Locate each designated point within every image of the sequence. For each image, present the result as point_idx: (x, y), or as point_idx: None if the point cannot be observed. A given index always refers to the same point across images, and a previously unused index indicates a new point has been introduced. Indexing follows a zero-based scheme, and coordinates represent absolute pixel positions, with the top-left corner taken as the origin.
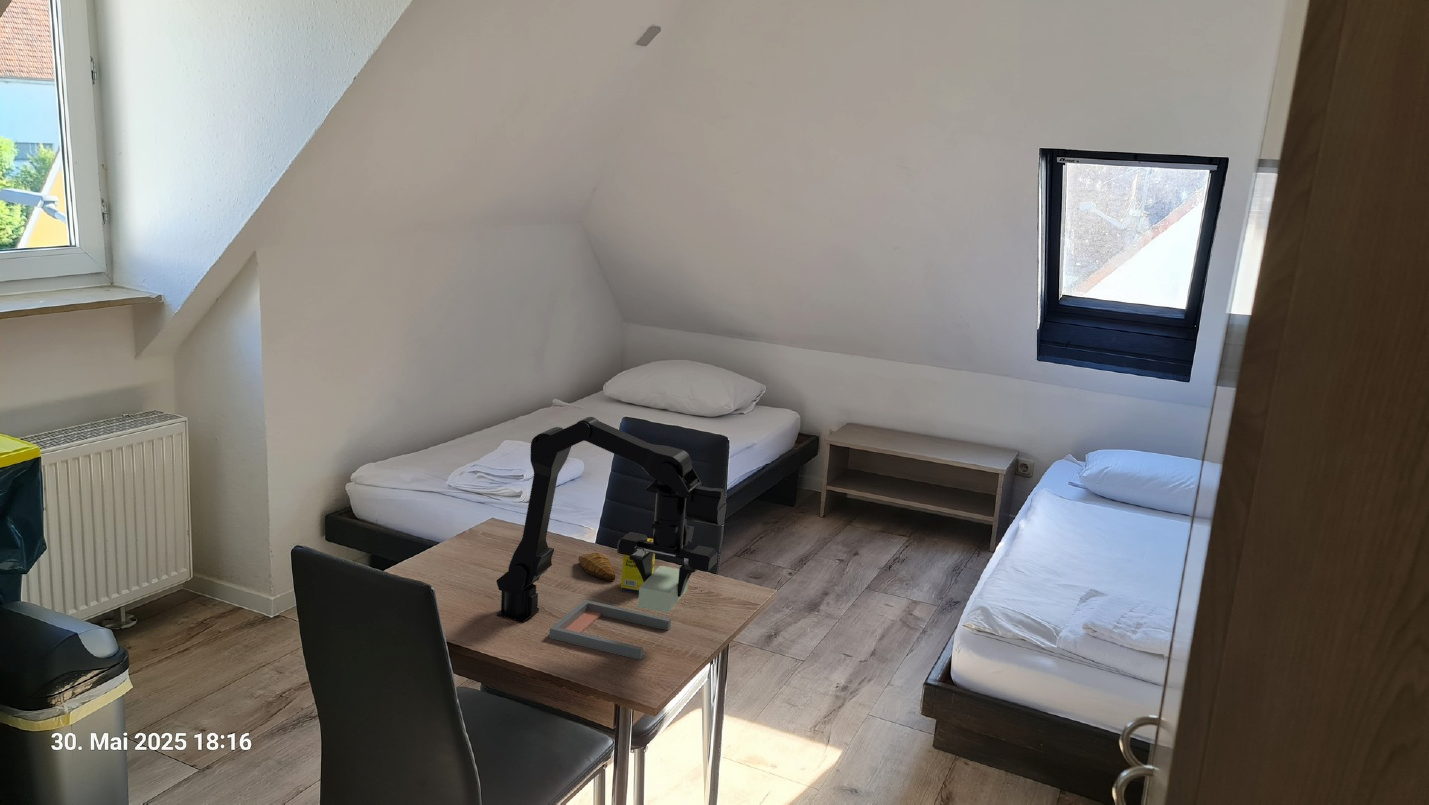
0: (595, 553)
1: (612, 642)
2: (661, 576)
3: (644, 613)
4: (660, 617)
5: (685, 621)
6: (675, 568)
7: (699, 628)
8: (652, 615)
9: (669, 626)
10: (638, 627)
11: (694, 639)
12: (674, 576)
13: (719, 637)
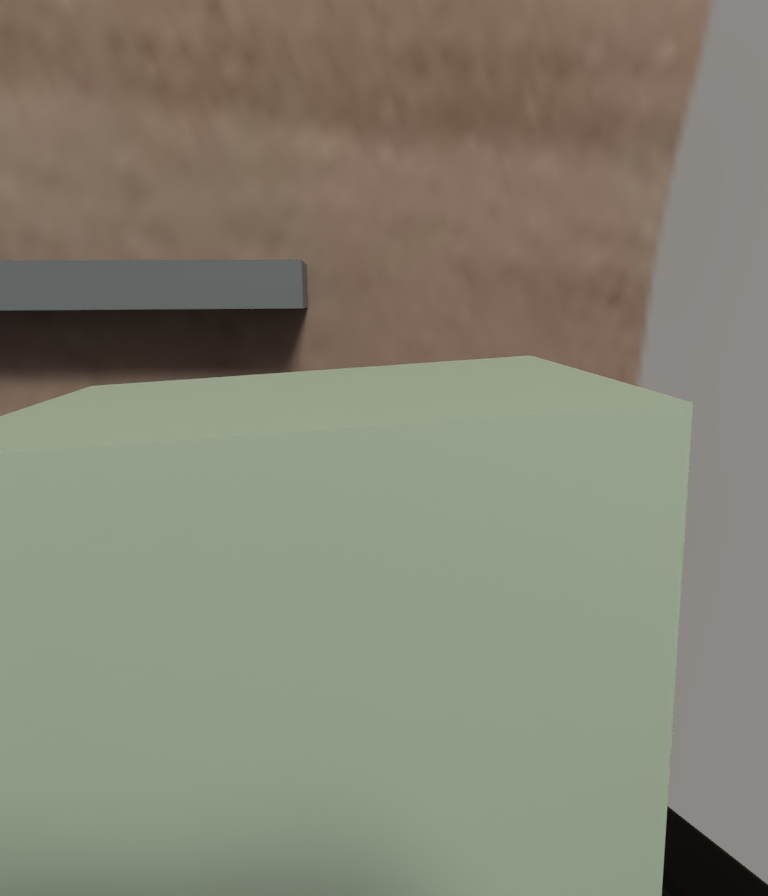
0: None
1: None
2: None
3: (71, 268)
4: (218, 276)
5: (359, 89)
6: (316, 436)
7: (491, 158)
8: (144, 270)
9: (305, 281)
10: (109, 361)
11: (512, 343)
12: (479, 859)
13: (656, 230)
